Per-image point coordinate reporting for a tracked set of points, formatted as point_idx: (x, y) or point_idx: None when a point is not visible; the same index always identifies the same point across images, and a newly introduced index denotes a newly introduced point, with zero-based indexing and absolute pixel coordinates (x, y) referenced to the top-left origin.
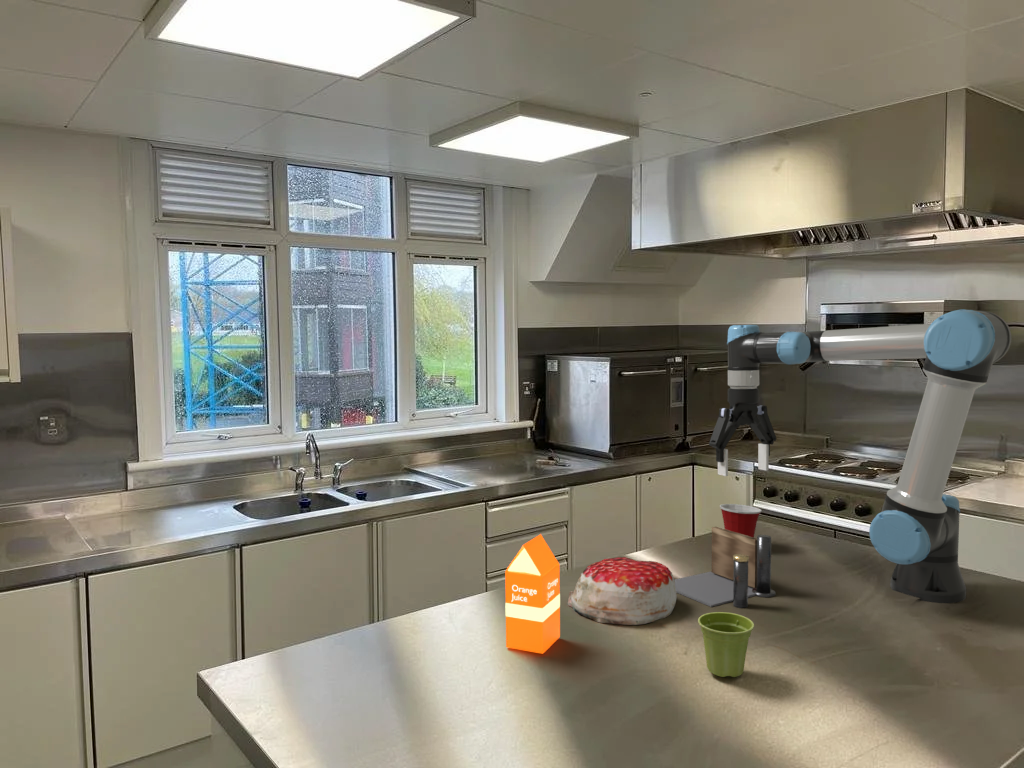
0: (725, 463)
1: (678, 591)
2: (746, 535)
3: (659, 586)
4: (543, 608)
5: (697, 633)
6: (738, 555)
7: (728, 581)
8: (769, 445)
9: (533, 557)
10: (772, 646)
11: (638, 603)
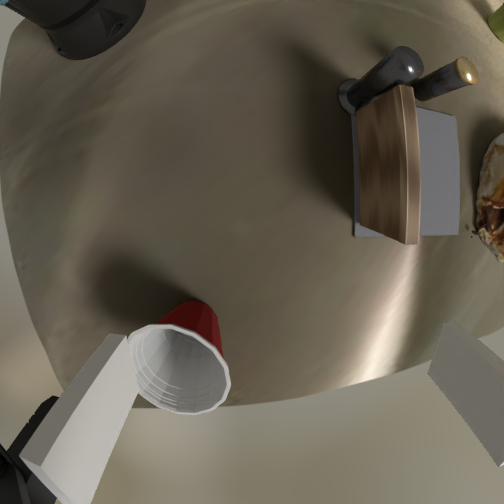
0: (495, 356)
1: (459, 186)
2: (194, 312)
3: None
4: None
5: (493, 82)
6: (470, 75)
7: None
8: (12, 449)
9: None
10: (448, 13)
11: None
